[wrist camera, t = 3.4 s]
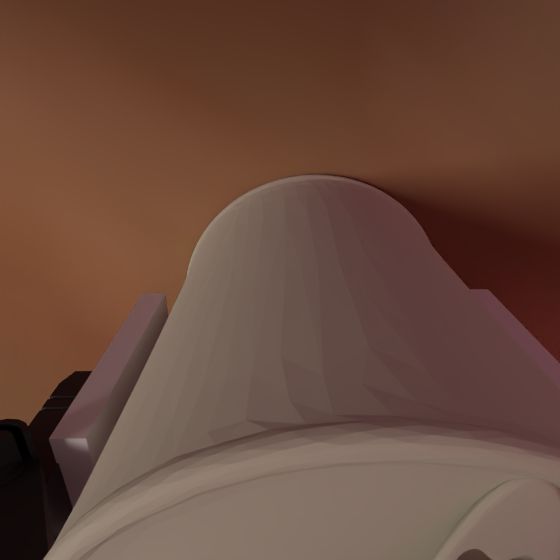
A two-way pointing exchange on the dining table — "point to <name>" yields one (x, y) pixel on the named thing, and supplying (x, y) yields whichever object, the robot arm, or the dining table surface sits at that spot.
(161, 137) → the dining table surface
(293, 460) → the can
